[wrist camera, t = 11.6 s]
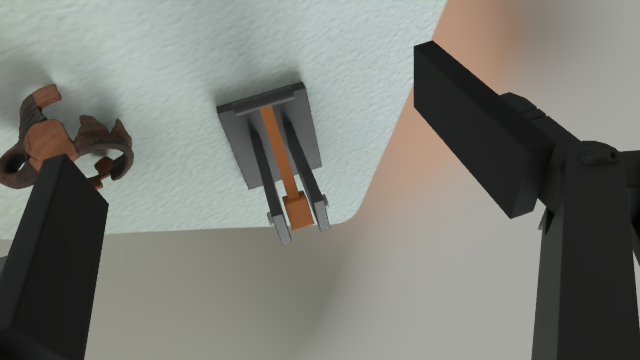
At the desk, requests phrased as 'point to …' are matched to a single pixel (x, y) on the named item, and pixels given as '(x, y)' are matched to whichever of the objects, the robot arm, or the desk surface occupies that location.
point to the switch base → (260, 159)
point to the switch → (279, 151)
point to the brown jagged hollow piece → (61, 143)
